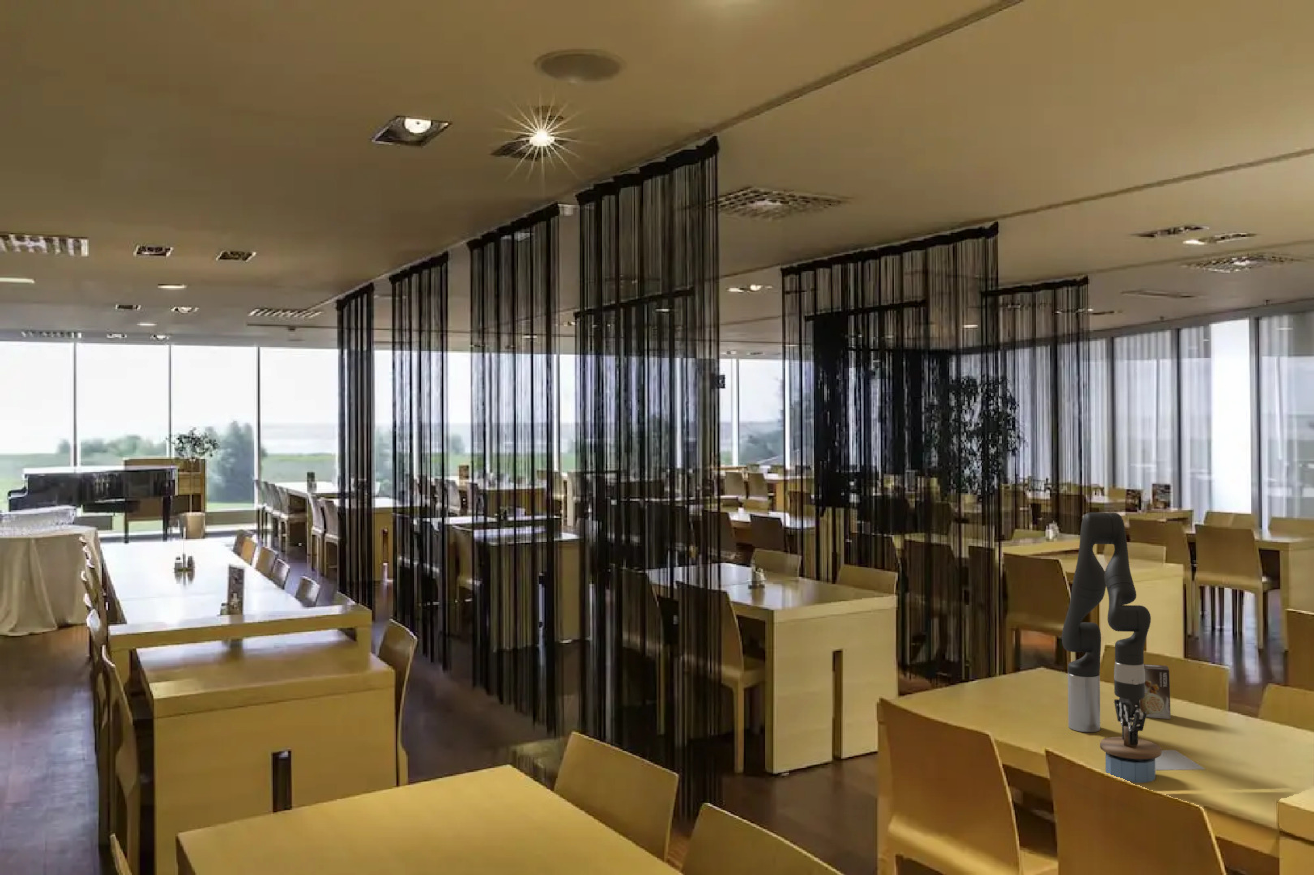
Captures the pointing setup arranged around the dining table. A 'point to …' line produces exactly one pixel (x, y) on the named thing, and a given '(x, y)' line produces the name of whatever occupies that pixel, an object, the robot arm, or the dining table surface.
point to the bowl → (1131, 768)
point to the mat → (1175, 761)
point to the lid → (1130, 747)
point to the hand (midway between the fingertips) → (1130, 742)
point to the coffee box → (1156, 692)
